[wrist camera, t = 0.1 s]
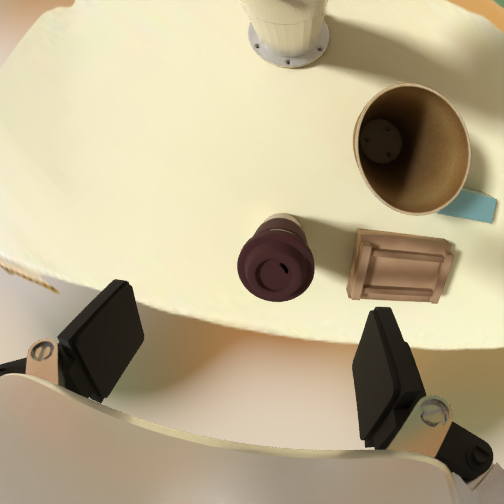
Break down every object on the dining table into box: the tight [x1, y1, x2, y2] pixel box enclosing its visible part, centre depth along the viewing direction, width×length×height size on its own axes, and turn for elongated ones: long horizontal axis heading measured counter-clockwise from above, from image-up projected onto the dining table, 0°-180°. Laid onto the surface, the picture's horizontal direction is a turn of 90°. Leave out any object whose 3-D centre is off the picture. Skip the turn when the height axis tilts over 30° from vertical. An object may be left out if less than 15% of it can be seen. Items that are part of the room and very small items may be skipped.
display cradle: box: [347, 229, 454, 304], centre depth 44 cm, size 12×18×5 cm, turn 89°
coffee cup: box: [237, 213, 315, 302], centre depth 41 cm, size 10×10×15 cm
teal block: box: [437, 188, 497, 223], centre depth 37 cm, size 4×13×5 cm, turn 89°
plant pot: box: [353, 83, 471, 216], centre depth 31 cm, size 15×15×16 cm
